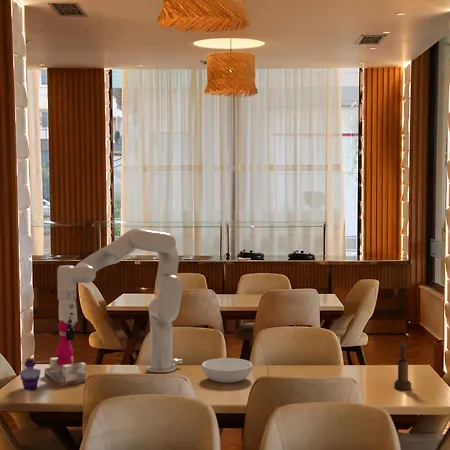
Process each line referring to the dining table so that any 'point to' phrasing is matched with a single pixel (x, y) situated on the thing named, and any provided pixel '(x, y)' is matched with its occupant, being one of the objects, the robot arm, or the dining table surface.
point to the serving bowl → (227, 369)
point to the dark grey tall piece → (402, 371)
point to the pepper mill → (64, 346)
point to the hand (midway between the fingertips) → (67, 338)
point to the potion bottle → (30, 375)
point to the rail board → (65, 372)
